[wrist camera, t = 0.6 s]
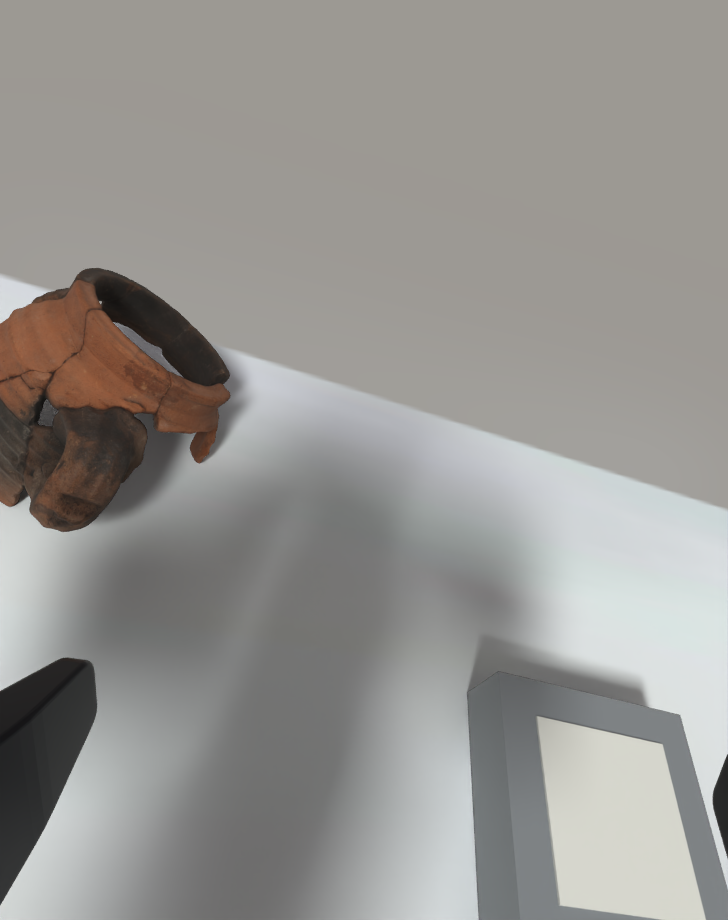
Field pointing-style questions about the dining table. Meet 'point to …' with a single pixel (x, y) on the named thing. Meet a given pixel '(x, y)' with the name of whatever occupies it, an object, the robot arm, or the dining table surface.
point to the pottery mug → (97, 394)
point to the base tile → (586, 809)
